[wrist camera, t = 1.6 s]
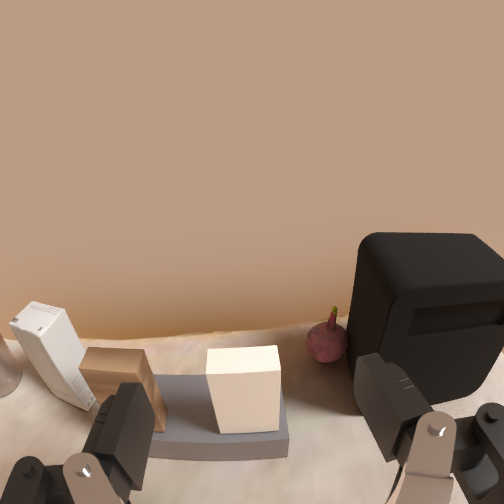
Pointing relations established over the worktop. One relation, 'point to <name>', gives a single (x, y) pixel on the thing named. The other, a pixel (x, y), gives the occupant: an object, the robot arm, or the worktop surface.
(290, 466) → the worktop surface
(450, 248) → the air purifier
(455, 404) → the worktop surface
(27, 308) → the skincare box
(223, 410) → the wooden block
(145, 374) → the walnut key
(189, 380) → the keypad base
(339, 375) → the worktop surface
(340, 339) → the vegetable
